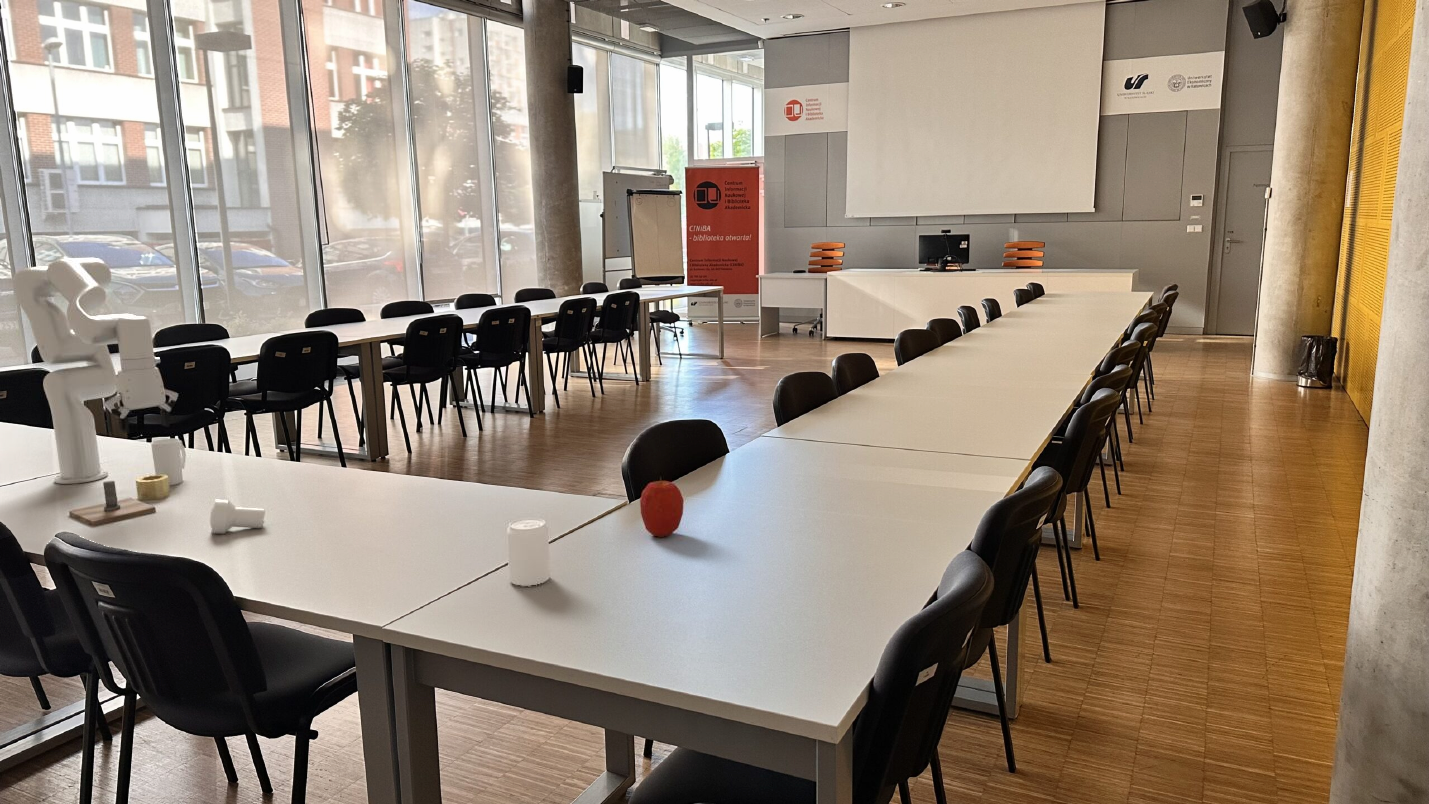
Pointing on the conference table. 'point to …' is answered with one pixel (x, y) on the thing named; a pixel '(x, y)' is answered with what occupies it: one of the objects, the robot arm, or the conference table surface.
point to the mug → (169, 459)
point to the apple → (661, 508)
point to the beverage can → (528, 552)
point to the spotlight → (234, 516)
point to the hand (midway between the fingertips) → (145, 429)
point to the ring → (153, 487)
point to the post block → (111, 508)
